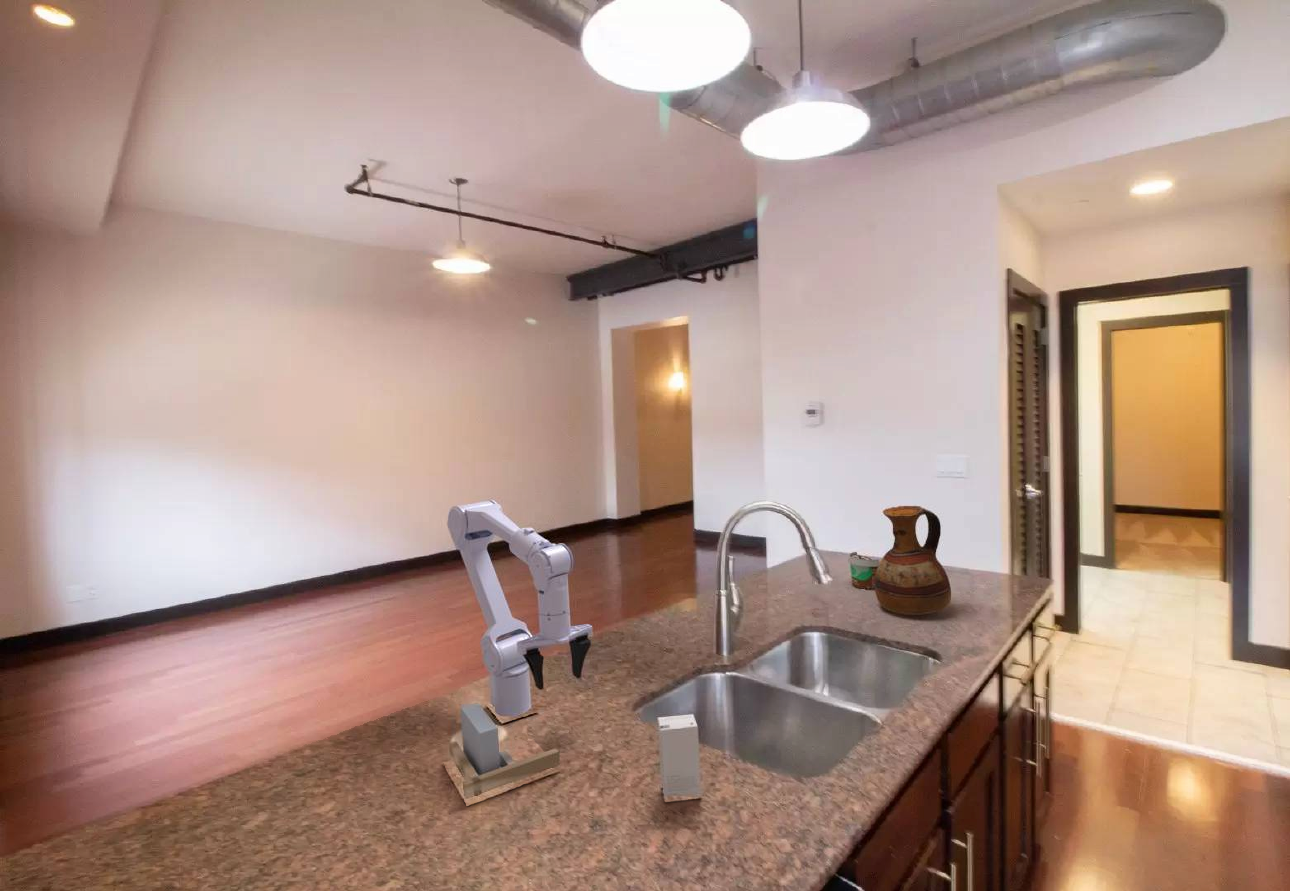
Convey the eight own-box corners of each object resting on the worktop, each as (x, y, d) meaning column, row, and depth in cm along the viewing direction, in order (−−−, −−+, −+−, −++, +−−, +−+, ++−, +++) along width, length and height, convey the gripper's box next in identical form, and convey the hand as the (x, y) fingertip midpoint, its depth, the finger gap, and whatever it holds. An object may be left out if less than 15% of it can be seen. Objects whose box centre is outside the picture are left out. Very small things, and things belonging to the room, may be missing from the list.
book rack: (443, 765, 110) (441, 745, 109) (529, 736, 118) (528, 717, 118) (466, 807, 98) (465, 785, 98) (560, 771, 106) (559, 751, 106)
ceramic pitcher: (860, 603, 185) (859, 503, 183) (916, 595, 191) (915, 498, 189) (907, 625, 167) (906, 514, 165) (967, 615, 173) (967, 507, 171)
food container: (840, 583, 207) (839, 553, 206) (856, 580, 208) (855, 551, 208) (863, 593, 195) (863, 562, 194) (880, 591, 197) (880, 559, 196)
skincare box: (697, 784, 101) (694, 711, 101) (702, 801, 97) (699, 726, 96) (659, 787, 101) (656, 715, 100) (663, 805, 96) (660, 729, 96)
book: (463, 756, 111) (460, 707, 111) (480, 750, 113) (477, 702, 112) (483, 786, 102) (479, 733, 101) (500, 780, 104) (497, 727, 103)
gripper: (525, 625, 109) (530, 700, 110) (598, 607, 117) (602, 678, 118) (511, 615, 115) (515, 687, 116) (581, 599, 123) (585, 666, 124)
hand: (558, 681), depth 117 cm, fingers open, 7 cm apart
